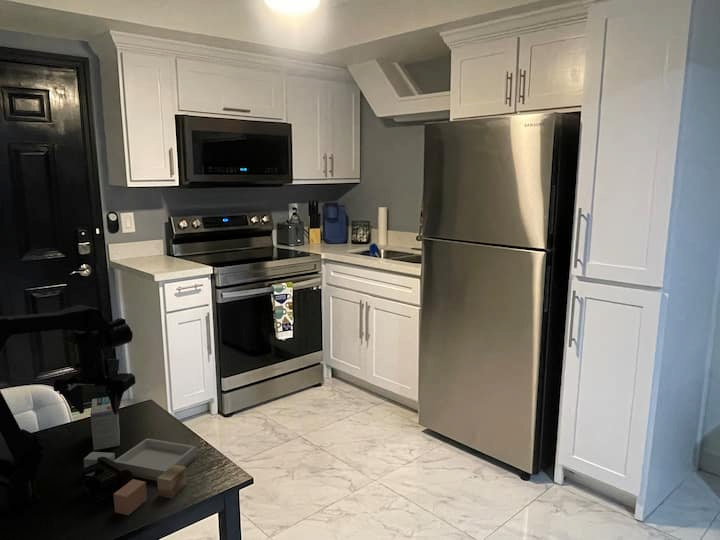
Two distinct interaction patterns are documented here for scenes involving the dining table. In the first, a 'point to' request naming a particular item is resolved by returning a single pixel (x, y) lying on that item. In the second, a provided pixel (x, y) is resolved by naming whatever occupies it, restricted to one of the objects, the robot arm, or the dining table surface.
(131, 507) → the terracotta block
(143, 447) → the tray
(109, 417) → the light bulb box
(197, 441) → the dining table surface
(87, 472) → the end cap
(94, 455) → the pale blue block
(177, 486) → the maple block
